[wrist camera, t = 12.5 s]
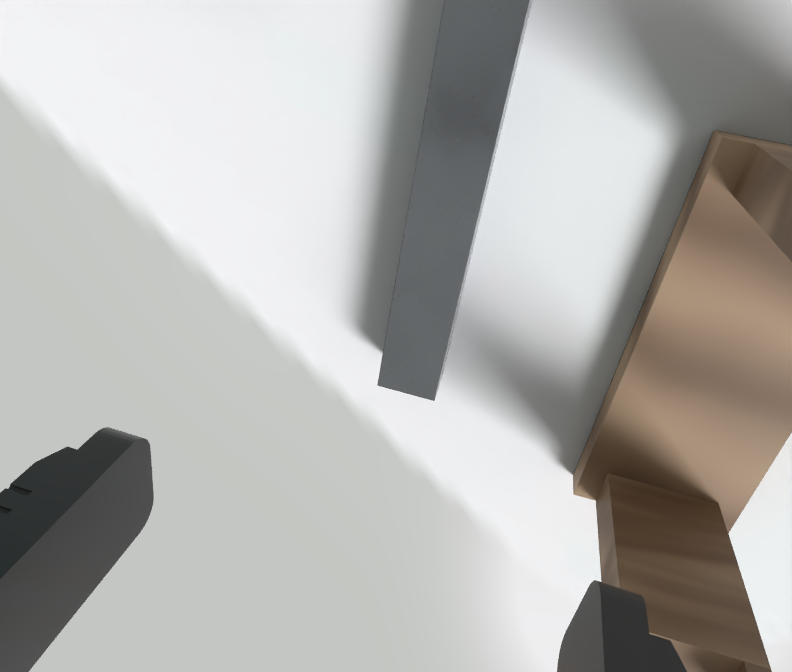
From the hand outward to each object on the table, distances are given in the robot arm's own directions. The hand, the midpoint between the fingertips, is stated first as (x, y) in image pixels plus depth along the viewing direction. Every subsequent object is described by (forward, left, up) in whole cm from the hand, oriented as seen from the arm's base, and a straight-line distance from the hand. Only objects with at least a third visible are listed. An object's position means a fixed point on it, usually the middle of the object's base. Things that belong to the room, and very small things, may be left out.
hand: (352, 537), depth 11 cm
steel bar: (0, -1, -21) cm, 21 cm away
